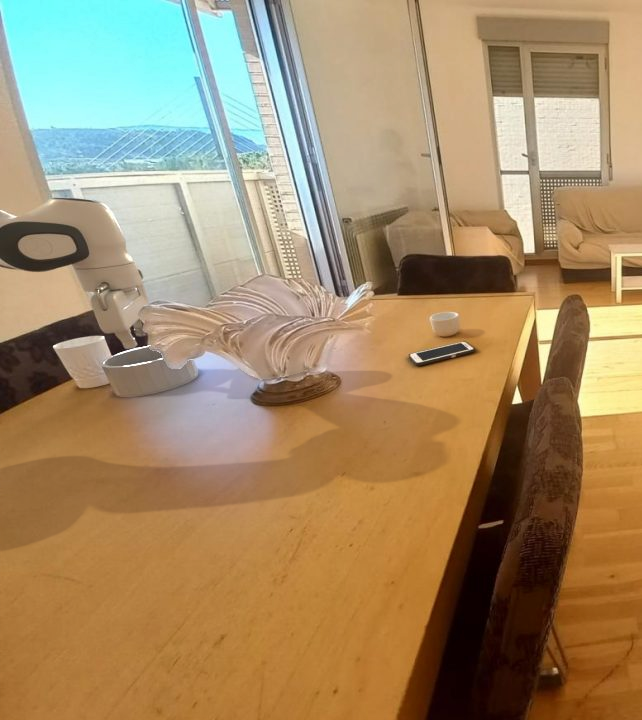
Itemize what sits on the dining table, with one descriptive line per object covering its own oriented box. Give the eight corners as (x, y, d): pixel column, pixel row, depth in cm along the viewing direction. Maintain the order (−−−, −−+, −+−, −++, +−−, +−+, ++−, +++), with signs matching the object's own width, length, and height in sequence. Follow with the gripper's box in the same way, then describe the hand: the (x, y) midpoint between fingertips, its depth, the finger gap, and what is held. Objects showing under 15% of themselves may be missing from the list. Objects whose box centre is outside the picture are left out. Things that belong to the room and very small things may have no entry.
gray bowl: (105, 403, 99) (90, 372, 96) (125, 379, 110) (111, 351, 107) (193, 386, 106) (181, 357, 103) (202, 365, 117) (192, 338, 114)
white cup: (127, 379, 110) (108, 339, 106) (79, 393, 104) (57, 350, 100) (117, 372, 114) (98, 333, 110) (70, 385, 108) (48, 344, 104)
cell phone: (408, 357, 117) (407, 354, 117) (465, 343, 125) (465, 340, 125) (416, 367, 112) (415, 363, 111) (476, 352, 120) (476, 348, 119)
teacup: (465, 334, 133) (462, 316, 130) (437, 341, 129) (433, 322, 126) (454, 326, 140) (451, 308, 138) (427, 331, 136) (424, 313, 134)
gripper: (116, 286, 92) (145, 352, 97) (143, 269, 108) (166, 326, 113) (70, 290, 89) (102, 359, 94) (104, 272, 105) (130, 331, 110)
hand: (137, 341), depth 104 cm, fingers open, 8 cm apart
